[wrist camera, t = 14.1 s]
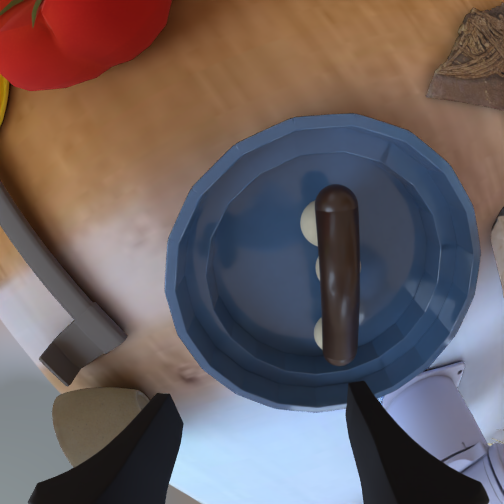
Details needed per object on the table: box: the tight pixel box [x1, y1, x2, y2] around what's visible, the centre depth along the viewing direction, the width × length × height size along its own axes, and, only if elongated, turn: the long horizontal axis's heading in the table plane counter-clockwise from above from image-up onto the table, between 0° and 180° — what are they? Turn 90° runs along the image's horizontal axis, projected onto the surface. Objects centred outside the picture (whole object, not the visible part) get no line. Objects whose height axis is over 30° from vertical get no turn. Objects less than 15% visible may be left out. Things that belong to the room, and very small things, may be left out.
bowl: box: [164, 113, 481, 413], centre depth 17 cm, size 17×17×4 cm
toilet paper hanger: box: [0, 180, 128, 386], centre depth 18 cm, size 20×8×3 cm, turn 37°
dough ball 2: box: [314, 317, 322, 349], centre depth 18 cm, size 3×3×3 cm
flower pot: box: [52, 387, 150, 467], centre depth 21 cm, size 10×10×7 cm
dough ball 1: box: [300, 201, 318, 246], centre depth 16 cm, size 3×3×3 cm
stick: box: [315, 184, 360, 366], centre depth 15 cm, size 10×2×2 cm, turn 8°
